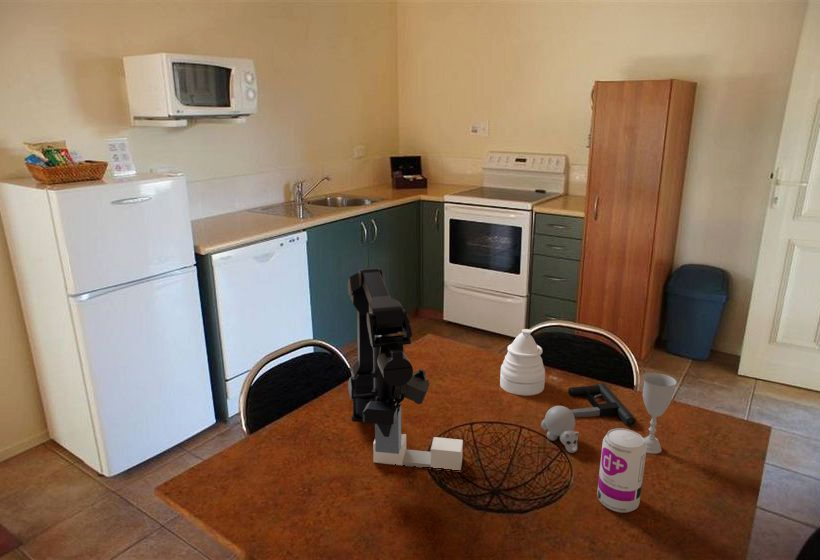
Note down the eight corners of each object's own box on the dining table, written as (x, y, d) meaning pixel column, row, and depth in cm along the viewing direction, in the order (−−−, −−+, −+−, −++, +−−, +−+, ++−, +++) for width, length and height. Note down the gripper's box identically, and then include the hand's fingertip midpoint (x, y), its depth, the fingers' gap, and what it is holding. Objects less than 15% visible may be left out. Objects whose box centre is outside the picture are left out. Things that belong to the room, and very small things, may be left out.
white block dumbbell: (373, 462, 131) (373, 443, 130) (378, 450, 136) (378, 431, 135) (460, 471, 128) (460, 452, 127) (462, 458, 133) (462, 439, 131)
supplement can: (618, 519, 113) (626, 453, 109) (588, 495, 120) (594, 432, 116) (647, 507, 116) (656, 442, 112) (616, 484, 123) (623, 423, 119)
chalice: (667, 444, 139) (676, 376, 133) (666, 458, 133) (676, 388, 128) (634, 437, 142) (643, 370, 136) (632, 451, 136) (641, 382, 131)
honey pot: (548, 395, 162) (552, 336, 157) (503, 395, 162) (506, 336, 157) (539, 375, 175) (543, 320, 170) (497, 375, 175) (499, 320, 170)
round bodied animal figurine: (555, 464, 135) (564, 442, 130) (536, 423, 144) (543, 401, 139) (583, 459, 137) (592, 438, 131) (562, 419, 146) (570, 397, 141)
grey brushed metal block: (375, 451, 121) (374, 409, 118) (378, 443, 124) (377, 402, 121) (398, 454, 120) (398, 411, 117) (401, 446, 123) (401, 404, 120)
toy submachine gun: (579, 421, 145) (640, 415, 145) (554, 385, 164) (608, 380, 165) (578, 433, 146) (640, 427, 146) (553, 396, 165) (608, 391, 166)
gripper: (418, 388, 106) (418, 461, 111) (432, 349, 124) (432, 413, 128) (360, 383, 108) (362, 455, 113) (382, 345, 126) (383, 409, 130)
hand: (388, 432), depth 121 cm, fingers closed on grey brushed metal block, 3 cm apart
